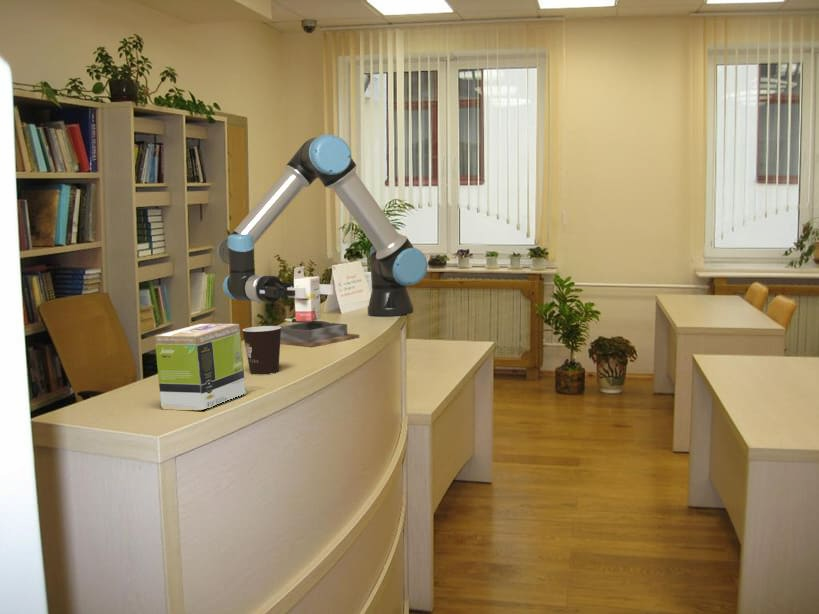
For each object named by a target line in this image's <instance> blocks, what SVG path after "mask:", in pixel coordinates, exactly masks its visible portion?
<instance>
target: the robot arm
mask: <svg viewBox="0 0 819 614" xmlns="http://www.w3.org/2000/svg"><path fill="white" fill-rule="evenodd" d="M284 169H285V170H284V172H283V173H282V174H281V175H280V176H279V177H278V179H277V180H276V181H275V182H274V184H273V185H272V186H271V187H270V188H269V189H268V191H267V192H266V193H265V194H264V195H263V196H262V197H261V198H260V200H259V201H258V202H257V203H256V204H255V206H254V207H253V208H252V209H251V210H250V211H249V213H248V214H247V215H246V216H245V217H244V218H243V220H242V221H241V222H240V223H239V224H238V225H237V226H236V227H235V228H234V229H233V231H232V232H231V234H229V235H228V236H227V238H226V239H224V240H222V241H221V242H220V243H219V245H218V247H217V249H216V250H217V251H216V253H217V256H218V258H219V259H220V261H222V262H223V263H225V264H227V265H228V270H229V275H227V276H226V277H225V278H224V280H223V283H222V290H223V293H224V295H225V296H226V297H227V298H229V299H232V300H237V301H246V302H247V301H248V302H249V301H252V302H257V304H261V303H262V302H265V303H274V302H277V301H279V300H280V298H282V301H287V300H288V298H291V299H295V298H303V299H304V298H306V288H294V282H287V281H281V279H280V278H278V276H276V275H275V276H274V275H263V274H262V275H260V274H256V267H255V266H256V265H255V244H256V243H258V241H259V240H260V239H261V238H262V236H263V235H264V234H265V233H266V232H267V230H269V228H271V226H272V225H273V223H274V222H276V220H277V219H278V218H279V217H280V216H281V214H282V213H283V212H284V211H285V210H286V208H288V206H289V205H290V204H291V203H292V202H293V200H294V199H295V198H296V197H297V196H298V194H299V193H300V192H301V191H302V190H303V189H304V188H308V187H310V186H311V185H312V184H313V182H314V181H316V180H317V179H319V181H320V182H321V183H322V185H323V186H324V187H325V189H326V188H327V189H332V190H333V191H334V193H335V194H336V196H337V197H338V199H339V200H340V202H341V203H342V204H343V206H344V207H345V208H346V210H347V211H348V213H349V214H350V216H351V217H352V219H354V220H355V223H356V224H357V226H359V228H360V230H361V231H362V233H364V235H365V236H366V238H367V239H368V241H370V243H371V244H372V246H370V249H369V250H370V252H369V253H370V254H369V258H370V260H369V262H370V277H371V280H370V281H371V282H370V283H371V293H370V298H369V303H368V306H367V315H368V314H369V315H368V316H372V315H375V316H374V317H392V316H393V317H395V316H405V315H409V314H413V313H414V305H413V303H412V301H411V300H412V299H411V297H410V294H409V291H408V286H413V285H416V284H419V283H420V282H421V281H422V280H423V279H424V278H425V276H426V275H427V271H428V259H427V257H426V255H425V254H424V253H423V252H422V251H421V250H420V249H418V248H416V247H414V245H413V244H412V243H411V241H410V240H409V238H408V237H407V235H403V234H399V232H398V231H397V230H396V228H395V227H394V225H393V224H392V223H391V220H389V218H388V217H387V216H386V214H385V213H384V211H383V209H382V208H381V207H380V205H379V204H378V202H377V201H376V200H375V197H373V195H372V194H371V192H370V191H369V190H368V188H367V187H366V185H365V184H364V182H363V181H362V179H360V176H359V175H358V174H357V163H356V162H355V161H354V159H353V158H352V151H351V148H350V146H349V144H348V143H347V142H346V141H345V140H344V139H343V138H342V137H340V136H338V135H333V134H322V135H319V136H317V137H313V138H310V139H308V140H306V141H304V142H303V144H302V145H301V146H300V147H299V149H297V151H296V152H295V154H294V155H293V156H292V157H291V159H290V160H289V161H288V163H286V165H285V166H284ZM320 295H334V284H328V283H327V284H324V283H322V282H320Z"/></svg>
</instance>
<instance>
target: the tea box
mask: <svg viewBox="0 0 819 614" xmlns="http://www.w3.org/2000/svg"><path fill="white" fill-rule="evenodd" d="M241 337H242V336H241V326H240V323H198V324H193V325H191V326H187V327H182V328H179V329H175V330H171V331H168V332H164V333H159V334H156V335H154V342H155V343H154V345H155V355H156V365H157V367H156V368H157V375H158V386H159V388H158V389H159V397H160V405H161V406H170V407H181V408H182V407H183V408H194V409H205V408H208V407H211V406H214V405H216V404H219V403H222V402H224V403H226V402H225V401H227V400H229V401H231V400H230V399H232V400H234V399H236V398H235V397H237V398H239V397H241V395H242V396H244V395H246V394H247V393H246V382H245V380H246V379H245V373H244V372H245V370H244V358H243V347H242V338H241ZM243 394H244V395H243ZM238 396H239V397H238ZM233 398H234V399H233ZM227 402H228V401H227ZM222 404H223V403H222ZM161 406H160V407H161Z"/></svg>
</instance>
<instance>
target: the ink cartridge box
mask: <svg viewBox="0 0 819 614" xmlns="http://www.w3.org/2000/svg"><path fill="white" fill-rule="evenodd" d="M299 271H300V273H299ZM293 283H294V288H306V298H304V299H303V298H294V310H295V311H294V312H295V322H304V323H305V322H310V321H313V322H315V321H317V320H319V319H321V318H322V316H321V294H320V283H321V282H320V276H305V266H304V265H302V266H297V267H294V270H293Z"/></svg>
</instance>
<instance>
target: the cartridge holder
mask: <svg viewBox="0 0 819 614" xmlns="http://www.w3.org/2000/svg"><path fill="white" fill-rule="evenodd" d="M280 327H281V336H280V345H286V346H287V345H288V346H298V347H306V348H315V347H320V346H325V345H329V344H333V343H338V342H344V341H349V340H354V339H358V338H360V334H357V333H348V324H347V323H336V322H323V321H308V322H305V321H304V322H299V323H295V324H290V325H289V324H288V325H282V326H280Z"/></svg>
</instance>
